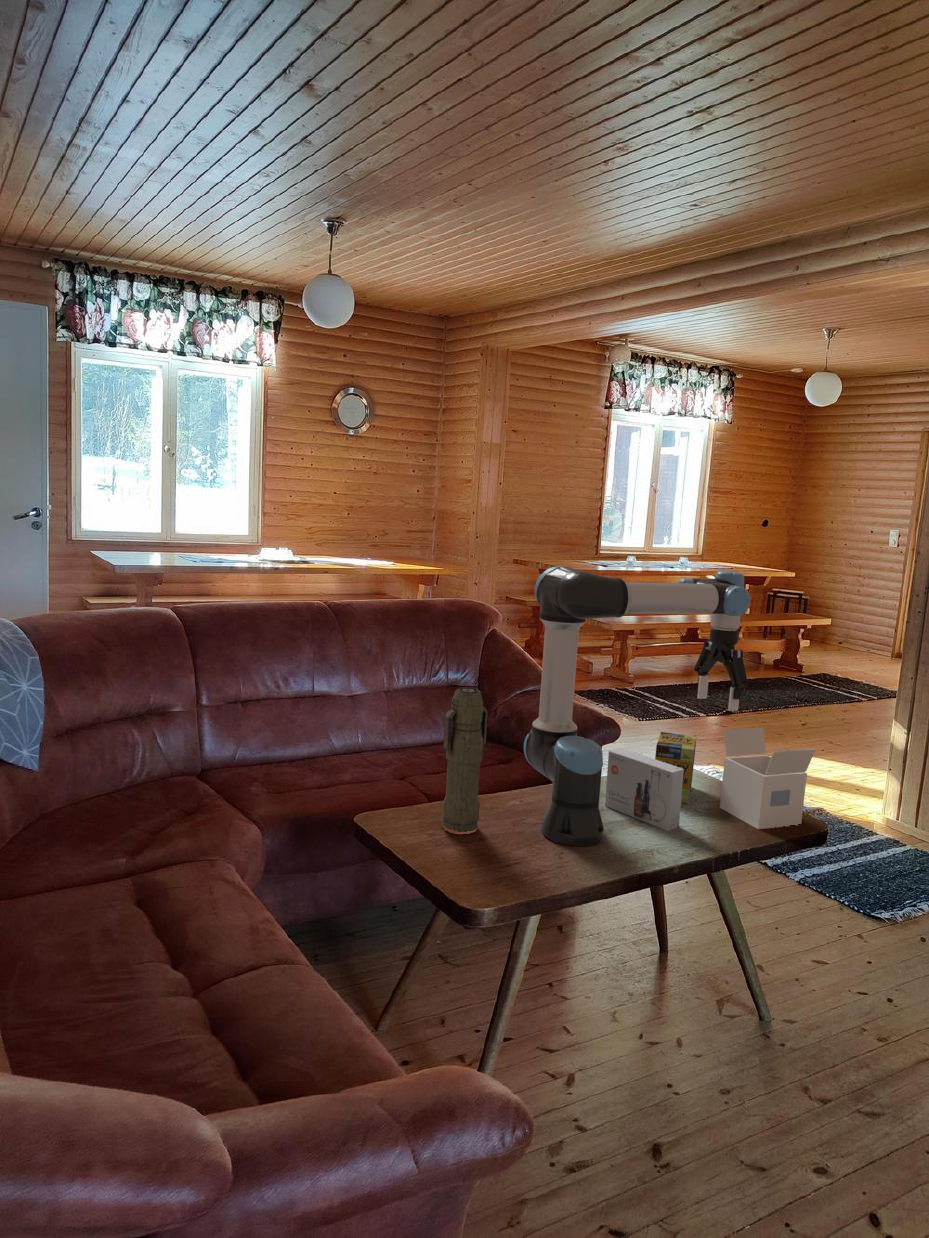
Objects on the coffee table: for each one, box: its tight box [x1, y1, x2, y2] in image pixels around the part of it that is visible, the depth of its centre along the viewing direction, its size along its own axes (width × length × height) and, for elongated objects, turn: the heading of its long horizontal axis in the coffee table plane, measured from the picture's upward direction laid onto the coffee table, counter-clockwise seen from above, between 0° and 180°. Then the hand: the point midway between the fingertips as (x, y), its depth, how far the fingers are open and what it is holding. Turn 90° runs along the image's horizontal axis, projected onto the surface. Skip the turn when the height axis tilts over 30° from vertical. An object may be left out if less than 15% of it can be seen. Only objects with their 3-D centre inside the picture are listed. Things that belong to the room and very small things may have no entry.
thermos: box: [442, 687, 489, 832], centre depth 218 cm, size 9×12×35 cm
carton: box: [719, 754, 808, 830], centre depth 240 cm, size 14×16×14 cm
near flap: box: [765, 747, 816, 775], centre depth 230 cm, size 13×7×1 cm
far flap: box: [722, 727, 767, 757], centre depth 247 cm, size 13×7×1 cm
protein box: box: [654, 731, 698, 804], centre depth 256 cm, size 10×15×16 cm
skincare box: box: [604, 747, 684, 832], centre depth 235 cm, size 21×6×16 cm, turn 42°
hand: (717, 704), depth 246 cm, fingers open, 13 cm apart
